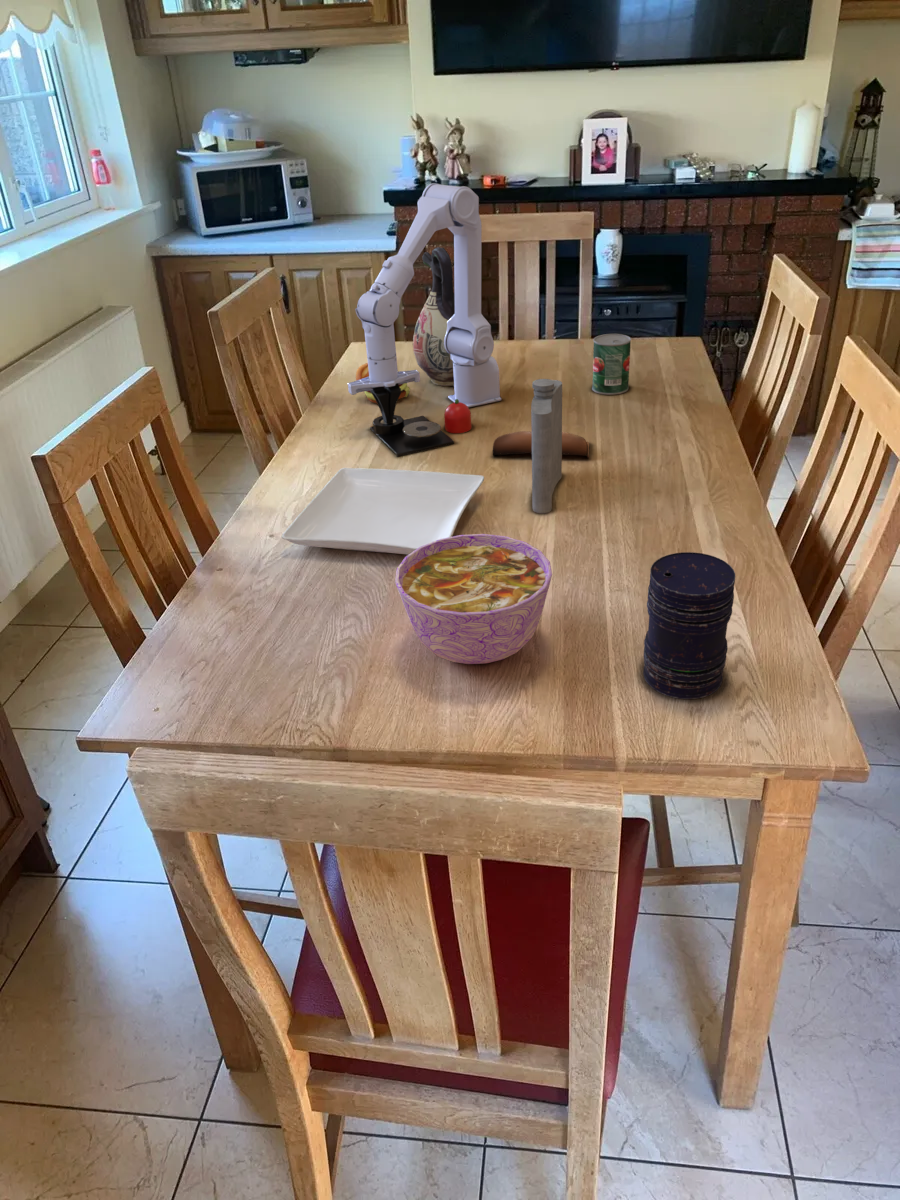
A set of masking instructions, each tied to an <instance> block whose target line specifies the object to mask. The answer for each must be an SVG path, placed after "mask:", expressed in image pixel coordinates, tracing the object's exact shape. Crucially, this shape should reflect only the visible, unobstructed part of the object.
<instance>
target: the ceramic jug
mask: <svg viewBox="0 0 900 1200" xmlns="http://www.w3.org/2000/svg"><path fill="white" fill-rule="evenodd" d="M421 260H422V262H423V264H424V265H426V266H427V267H428V268H429V269H430V270H431V272H432V287H431V288H432V289H431V290H430V293H429V295H428V297H427V299H426V300H425V303H424V305H423V308H422V309H421V310H420V313H419V316H418V318H417V321H416V322H415V323H416V324H415V327H414V333H413V336H412V337H413V338H412V348H413V349H412V351H413V355H414V358H415V361H416V364H417V365H418V367H419V368H420V369H421V370H422V371H423V372H424V373H425V374H426V376H427V377H428V378H429V379H430V381H431V383H432V384H434V385H437V386H445V387H451V386H452V387H454V374H453V360H451V357H450V354H449V353H448V352H447V351H446V349H445V346H444V338H445V335H446V332H447V322H448V320H449V319H450V318H451V317H452V316H454V314H455V291H454V283H453V282H454V275H453V274H454V271H453V264H452V259H451V256H450V253H449V252H448V251H447V250H446V249H445V247H441V246H440V247H439V246H438V247H435V248H434V249H432V250H431V253H430V252H428V251H425V252H424V253H423V254H422V257H421Z"/></svg>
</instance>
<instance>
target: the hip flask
mask: <svg viewBox="0 0 900 1200" xmlns="http://www.w3.org/2000/svg"><path fill="white" fill-rule="evenodd" d="M531 383H532V386H531V387H532V389H533V397H532V400H531V405H530V406H531V407H530V408H531V409H530V411H531V412H530V413H531V415H530V417H531V418H530V419H531V420H530V421H531V432H532V454H531V489H532V490H531V495H532V496H531V499H532V501H531V502H532V506H531V507H532V511H533V512H534V513H537V514H548V513H550V512H551V511H552V509H553V506H552V503H553V500H552V499H553V494H554V490H555V489H556V486H557V485H558V483H559V481H560V480H561V479H562V475H563V474H562V473H563V472H562V471H563V470H562V469H563V466H562V465H563V463H562V462H563V454H562V432H563V382H562V381H561V380H558V379H550V378H538V379H535V380H533V381H532V382H531Z"/></svg>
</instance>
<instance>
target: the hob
mask: <svg viewBox="0 0 900 1200" xmlns="http://www.w3.org/2000/svg"><path fill="white" fill-rule="evenodd" d="M393 419H395V420H396V422H394V423H391V424H383V423H380V422H381V421H382V420H383V417H382V415H379V416H377V417H376V418H374V419H373V420H372V426H369V430H370V432H371V433H373V434H374V435H375V436H376V437H377V438H378V439H379V441H381V442H382V443H383V444H384V445H385V447H387V448H388V449H389V450H390V451H391V452H392V454H394V455H395V456H396V457H403V456H407V455H411V454H417V453H420V452H425V451H428V450H433V449H438V448H442V447H447V446H450V445H455V441H454V439H452V438H450V436H448V435H447V434H446V433H445V432H444V431H442V430H440V431H439V432H438V433H437V434H435V435H432V436H427V437H411V436H407V435H405V434H404V433H403V428H404V427H405V426H406V425H408V424H411V423H414V422H421V421H429V422H431V420H429V419H428V418H427V417H426V416H424V415H420V416H414V417H411V418H406V419H404V418H403V417H402V416H401V415H399V414H394V416H393Z"/></svg>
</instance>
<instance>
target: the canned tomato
mask: <svg viewBox="0 0 900 1200" xmlns="http://www.w3.org/2000/svg"><path fill="white" fill-rule="evenodd" d="M631 342H632V338H631V337H630V336H629V335H626V334H622V333H606V334H599V335H597V336H595V337H593V354H592V386H591V390H592V391H593V392H594V393H596V394H599V395H605V396H606V395H607V396H614V395H620V394H624V393H626V392H627V391H629V388H630V387H629V383H630V366H631V365H630V363H631V361H630V360H631Z"/></svg>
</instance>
